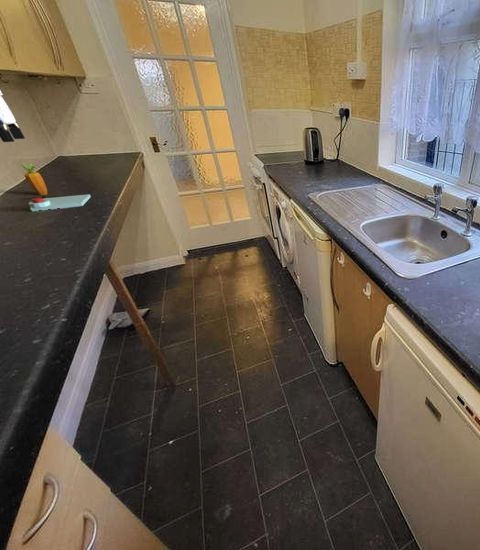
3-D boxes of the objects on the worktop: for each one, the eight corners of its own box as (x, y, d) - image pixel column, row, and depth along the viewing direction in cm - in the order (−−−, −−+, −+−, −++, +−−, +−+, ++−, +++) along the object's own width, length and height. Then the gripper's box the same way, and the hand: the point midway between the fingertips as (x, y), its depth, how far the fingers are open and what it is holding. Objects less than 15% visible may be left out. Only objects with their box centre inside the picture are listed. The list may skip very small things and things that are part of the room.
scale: (30, 212, 117) (25, 204, 116) (43, 201, 128) (39, 194, 127) (82, 206, 124) (78, 199, 122) (91, 197, 135) (88, 190, 133)
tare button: (32, 204, 118) (30, 200, 117) (35, 201, 120) (33, 198, 119) (42, 203, 119) (40, 199, 118) (45, 201, 121) (43, 197, 120)
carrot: (50, 196, 135) (30, 162, 127) (55, 198, 133) (36, 163, 125) (36, 199, 131) (15, 164, 123) (41, 201, 129) (20, 165, 121)
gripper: (-16, 90, 116) (11, 138, 125) (-42, 90, 102) (-9, 143, 111) (10, 90, 118) (35, 137, 127) (-12, 90, 105) (17, 142, 114)
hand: (14, 140), depth 119 cm, fingers open, 9 cm apart
